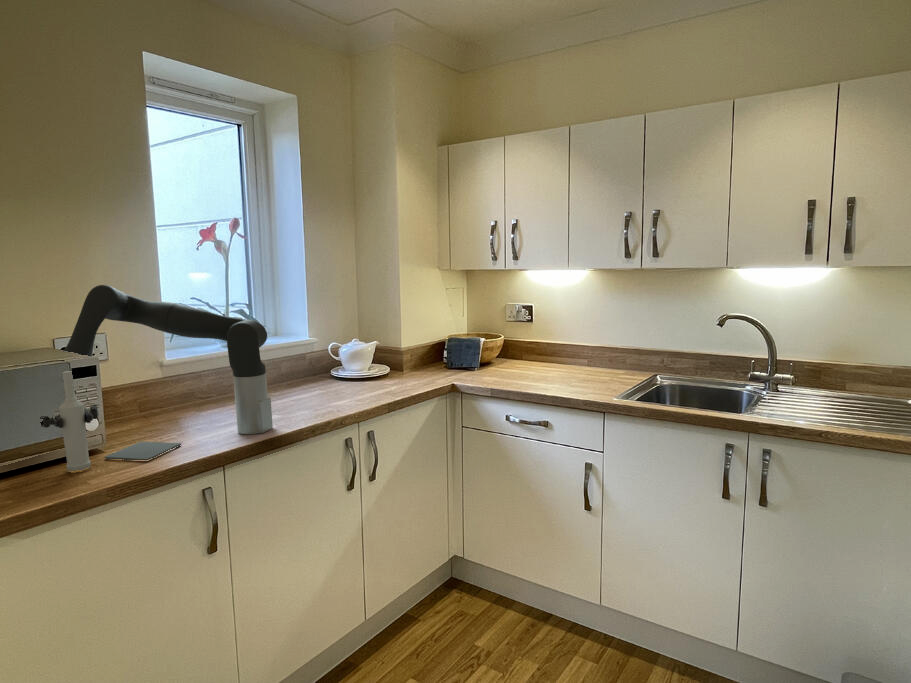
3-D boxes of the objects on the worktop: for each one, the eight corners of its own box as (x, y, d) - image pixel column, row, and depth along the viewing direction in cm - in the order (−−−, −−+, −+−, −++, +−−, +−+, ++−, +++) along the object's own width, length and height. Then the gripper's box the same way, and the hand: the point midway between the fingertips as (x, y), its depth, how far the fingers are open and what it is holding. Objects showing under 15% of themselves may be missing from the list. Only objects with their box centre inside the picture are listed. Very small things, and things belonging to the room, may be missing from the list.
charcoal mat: (181, 446, 161) (181, 443, 161) (147, 462, 148) (147, 459, 148) (141, 444, 164) (140, 441, 164) (104, 459, 151) (104, 456, 151)
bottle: (95, 465, 147) (84, 369, 143) (83, 473, 142) (71, 373, 138) (75, 466, 147) (62, 370, 143) (62, 474, 141) (49, 374, 138)
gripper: (27, 400, 147) (37, 412, 135) (91, 391, 157) (107, 400, 145) (30, 429, 148) (41, 443, 136) (95, 417, 158) (110, 429, 146)
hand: (75, 421), depth 140 cm, fingers closed on bottle, 5 cm apart
